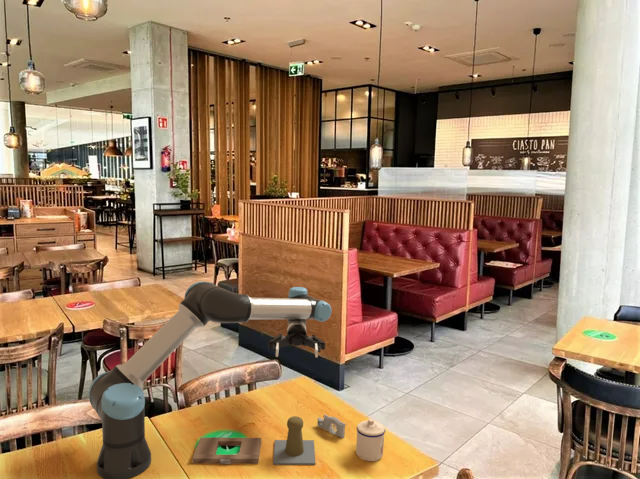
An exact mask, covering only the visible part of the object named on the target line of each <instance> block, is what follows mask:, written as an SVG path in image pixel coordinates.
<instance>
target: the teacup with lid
mask: <svg viewBox="0 0 640 479" xmlns="http://www.w3.org/2000/svg"><path fill="white" fill-rule="evenodd" d="M385 433H386V429H385V427H384V425H383V424H382V423H380V422H378V421H376V420H375V419H373V418H369V419H367V420H363V421H360V422H359V423H358V424H357V426H356V447H355V448H356V449H355V451H356V452H355V453H356V455H357V457H358V458H360V459H361V460H364V461H365V462H376V461H379V460H381V459H382V458H383V456H384V444H385Z"/></svg>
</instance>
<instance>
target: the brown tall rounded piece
mask: <svg viewBox="0 0 640 479" xmlns="http://www.w3.org/2000/svg"><path fill="white" fill-rule="evenodd" d="M286 427H287V429H288V431H287V436H286V440H287V442H286V448H285V453H286V454H287V455H289V456H299V455H301V454H303V452H304V448H303V440H304V439H303V430H302V429H303V427H304V420H303V418H302V417H299V416H291V417H289V418H288V419H287V422H286Z"/></svg>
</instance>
